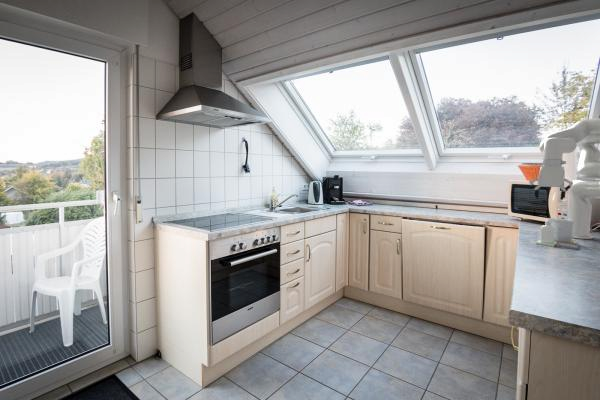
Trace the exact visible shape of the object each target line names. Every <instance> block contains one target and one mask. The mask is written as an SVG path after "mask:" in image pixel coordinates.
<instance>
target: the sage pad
mask: <svg viewBox="0 0 600 400" xmlns="http://www.w3.org/2000/svg"><path fill="white" fill-rule="evenodd" d="M536 245H538V246H540V245H541V246H546V247H547V246H548V247H555V246H557V243H556V242H554V243H545V242H540V239H539V240H537V241H536Z"/></svg>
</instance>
